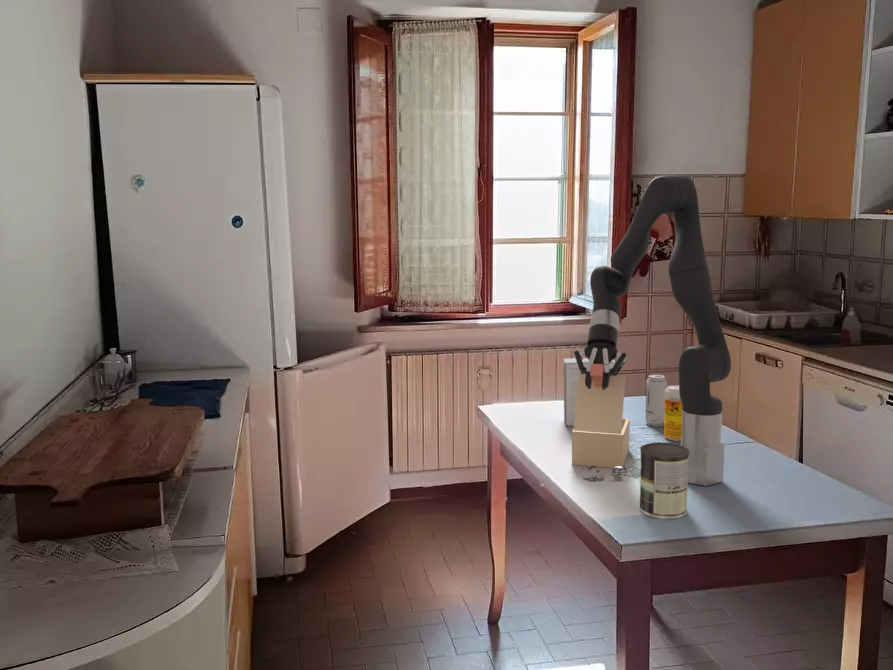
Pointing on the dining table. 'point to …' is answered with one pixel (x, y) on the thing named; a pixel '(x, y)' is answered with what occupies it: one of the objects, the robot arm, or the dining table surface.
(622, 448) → the carton
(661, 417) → the energy drink can
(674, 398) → the beer can
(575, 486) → the dining table surface
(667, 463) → the coffee can
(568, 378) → the hard drive box
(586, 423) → the flap
